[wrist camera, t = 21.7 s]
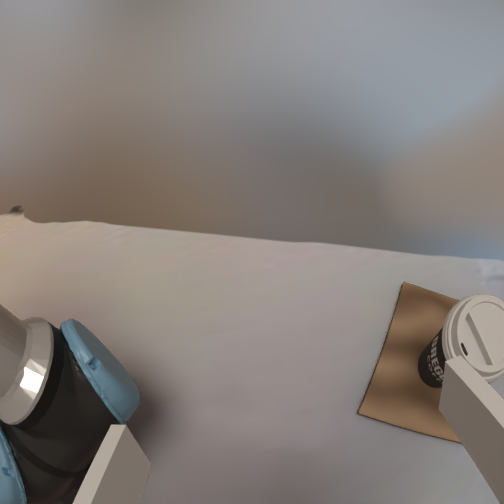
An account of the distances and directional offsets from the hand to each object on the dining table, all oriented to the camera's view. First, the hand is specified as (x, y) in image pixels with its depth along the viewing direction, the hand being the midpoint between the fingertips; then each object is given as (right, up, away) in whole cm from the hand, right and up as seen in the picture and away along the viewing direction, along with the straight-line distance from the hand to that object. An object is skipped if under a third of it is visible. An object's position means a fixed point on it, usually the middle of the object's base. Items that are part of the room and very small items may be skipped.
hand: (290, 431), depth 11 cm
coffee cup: (+24, -9, +25) cm, 35 cm away
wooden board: (+25, -9, +26) cm, 37 cm away
